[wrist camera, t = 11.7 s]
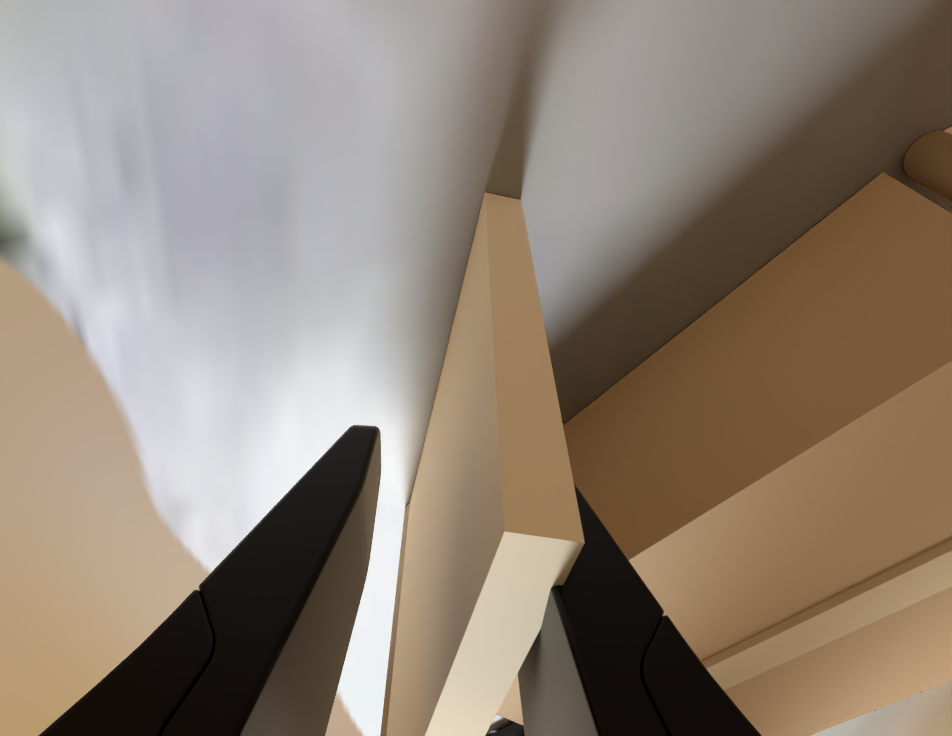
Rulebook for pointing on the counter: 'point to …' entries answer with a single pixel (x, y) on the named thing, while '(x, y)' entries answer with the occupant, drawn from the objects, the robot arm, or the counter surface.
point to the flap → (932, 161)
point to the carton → (797, 470)
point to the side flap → (483, 501)
